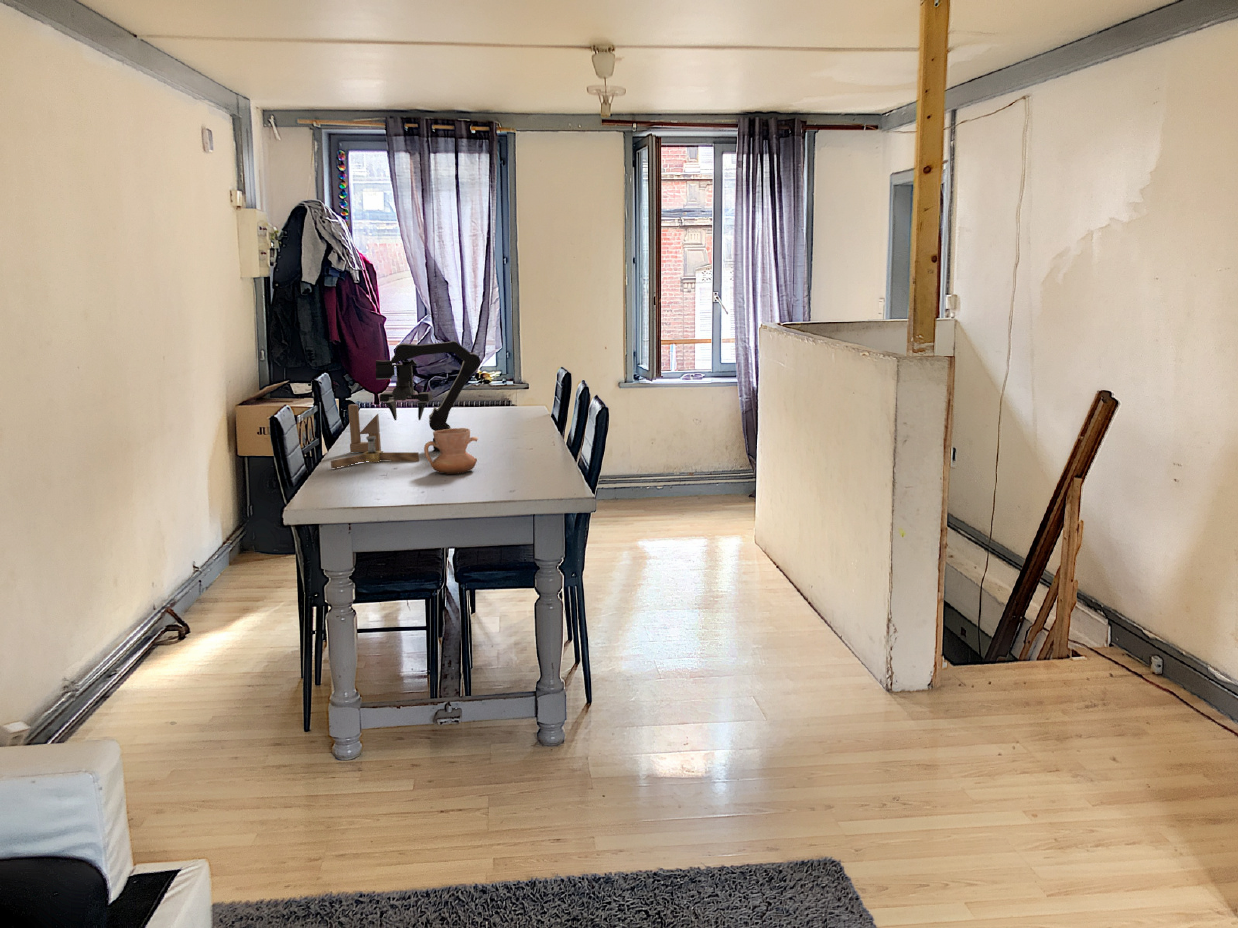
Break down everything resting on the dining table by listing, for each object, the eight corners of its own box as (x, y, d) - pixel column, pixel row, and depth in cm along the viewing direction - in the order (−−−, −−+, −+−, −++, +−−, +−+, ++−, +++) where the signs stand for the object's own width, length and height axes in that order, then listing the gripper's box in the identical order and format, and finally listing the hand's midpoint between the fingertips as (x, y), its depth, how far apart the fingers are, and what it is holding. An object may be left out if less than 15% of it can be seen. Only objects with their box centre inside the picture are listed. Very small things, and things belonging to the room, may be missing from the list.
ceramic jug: (476, 466, 351) (473, 425, 348) (483, 473, 337) (480, 431, 335) (423, 471, 346) (420, 430, 343) (428, 479, 332) (424, 436, 330)
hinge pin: (378, 460, 366) (376, 435, 364) (375, 461, 363) (373, 437, 361) (369, 460, 366) (368, 435, 365) (366, 461, 363) (364, 437, 362)
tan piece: (421, 459, 365) (420, 451, 365) (404, 469, 347) (403, 461, 347) (351, 459, 369) (350, 451, 368) (330, 469, 351) (330, 461, 350)
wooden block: (379, 452, 381) (375, 404, 377) (350, 453, 380) (346, 405, 377) (381, 450, 384) (377, 403, 381) (352, 451, 384) (348, 404, 380)
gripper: (372, 380, 368) (375, 423, 371) (422, 380, 366) (425, 423, 369) (383, 377, 379) (386, 419, 382) (431, 376, 377) (434, 418, 380)
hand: (407, 420), depth 378 cm, fingers open, 9 cm apart
